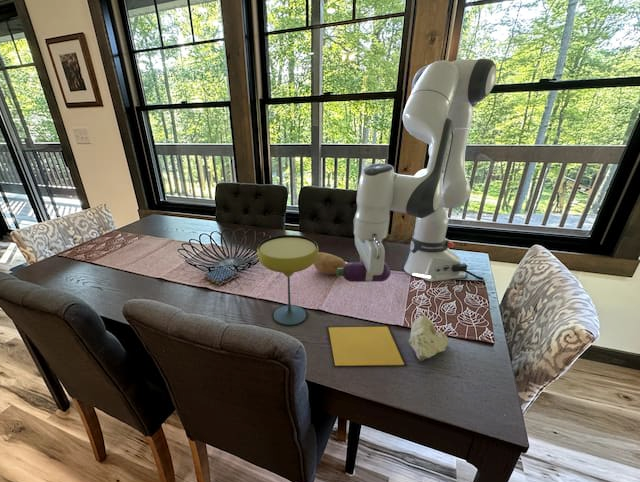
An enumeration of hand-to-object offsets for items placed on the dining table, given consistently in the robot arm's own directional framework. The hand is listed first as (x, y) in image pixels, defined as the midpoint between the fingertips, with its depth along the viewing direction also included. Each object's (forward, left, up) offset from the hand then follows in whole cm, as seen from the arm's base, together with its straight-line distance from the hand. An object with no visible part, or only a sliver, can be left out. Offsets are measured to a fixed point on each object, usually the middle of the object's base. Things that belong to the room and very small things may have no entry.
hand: (365, 273), depth 90 cm
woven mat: (+50, -32, -18) cm, 62 cm away
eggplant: (0, 0, -2) cm, 2 cm away
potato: (+6, -34, -18) cm, 39 cm away
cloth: (+1, +10, -18) cm, 20 cm away
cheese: (-15, +15, -18) cm, 28 cm away
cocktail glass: (+22, -5, -18) cm, 29 cm away
